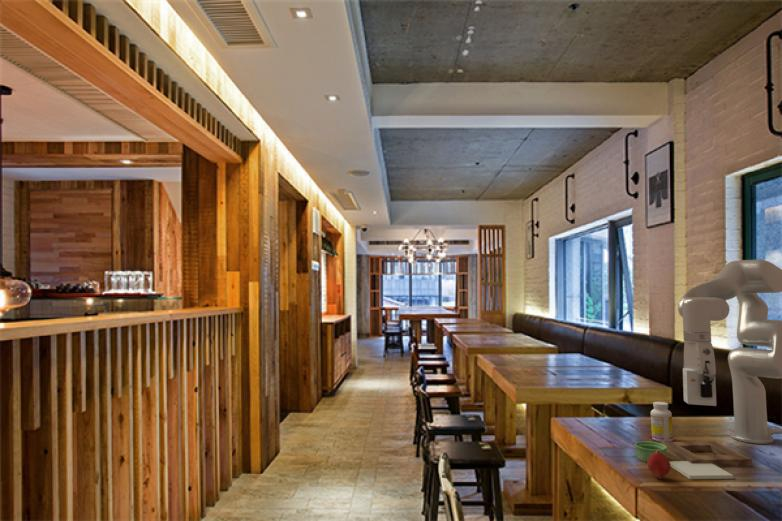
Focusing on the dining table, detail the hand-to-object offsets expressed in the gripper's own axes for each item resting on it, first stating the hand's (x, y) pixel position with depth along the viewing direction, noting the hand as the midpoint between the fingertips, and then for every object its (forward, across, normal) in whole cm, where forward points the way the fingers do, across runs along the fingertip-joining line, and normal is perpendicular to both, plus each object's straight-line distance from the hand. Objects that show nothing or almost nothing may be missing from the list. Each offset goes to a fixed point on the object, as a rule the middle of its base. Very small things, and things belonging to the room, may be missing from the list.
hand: (699, 394), depth 162 cm
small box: (+3, 0, 0) cm, 3 cm away
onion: (+20, -15, +21) cm, 33 cm away
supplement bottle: (+20, +21, +2) cm, 29 cm away
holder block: (+20, +3, -2) cm, 20 cm away
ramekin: (+20, +1, +15) cm, 26 cm away
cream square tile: (+20, -10, +7) cm, 24 cm away
